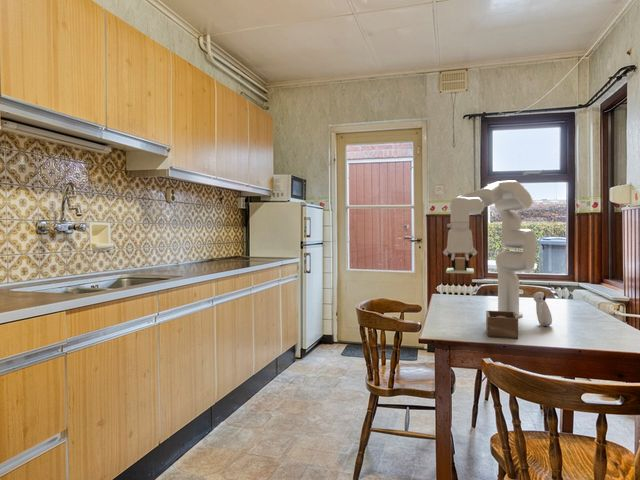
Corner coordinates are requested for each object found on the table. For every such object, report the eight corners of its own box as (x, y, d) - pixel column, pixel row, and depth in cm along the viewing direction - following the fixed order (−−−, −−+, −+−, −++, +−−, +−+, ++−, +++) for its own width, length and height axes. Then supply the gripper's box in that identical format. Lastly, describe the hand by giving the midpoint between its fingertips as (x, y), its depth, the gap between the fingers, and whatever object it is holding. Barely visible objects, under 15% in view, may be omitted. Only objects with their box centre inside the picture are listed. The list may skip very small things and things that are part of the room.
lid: (447, 269, 191) (447, 256, 191) (473, 270, 188) (473, 257, 188) (445, 272, 178) (445, 259, 178) (474, 273, 174) (474, 259, 174)
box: (486, 329, 183) (486, 310, 183) (514, 330, 180) (514, 311, 179) (487, 337, 170) (487, 317, 170) (518, 339, 166) (518, 318, 166)
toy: (555, 329, 182) (555, 293, 181) (537, 328, 183) (537, 293, 183) (547, 323, 193) (547, 290, 192) (530, 322, 194) (530, 289, 194)
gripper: (439, 226, 181) (439, 270, 181) (481, 226, 175) (481, 270, 176) (440, 226, 188) (440, 268, 188) (480, 226, 182) (480, 269, 183)
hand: (460, 269), depth 182 cm, fingers closed on lid, 4 cm apart
